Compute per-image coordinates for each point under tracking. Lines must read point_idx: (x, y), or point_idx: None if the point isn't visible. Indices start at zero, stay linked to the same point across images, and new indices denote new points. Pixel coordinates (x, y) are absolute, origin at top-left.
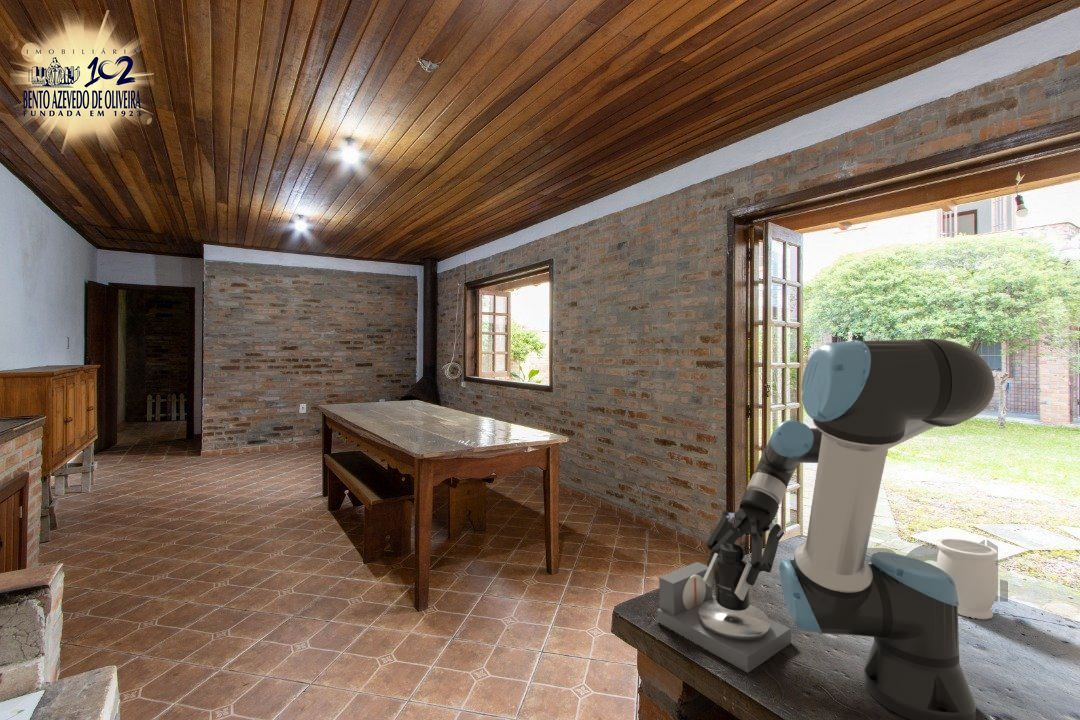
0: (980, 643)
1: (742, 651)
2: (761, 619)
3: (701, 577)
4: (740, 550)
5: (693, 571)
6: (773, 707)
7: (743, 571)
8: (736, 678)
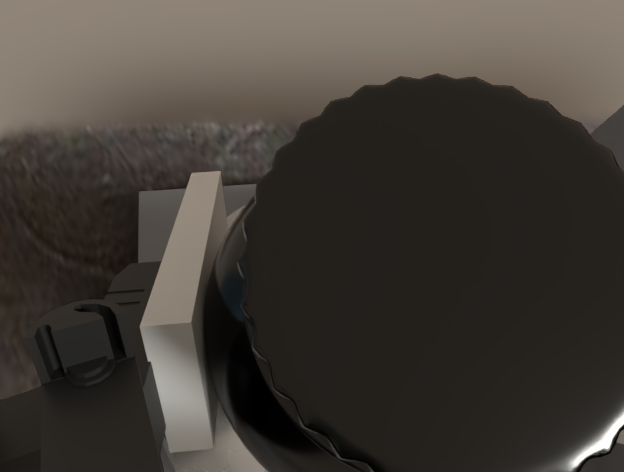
0: None
1: (172, 205)
2: (220, 454)
3: None
4: (269, 278)
5: None
6: (9, 137)
7: (201, 264)
8: (164, 158)
